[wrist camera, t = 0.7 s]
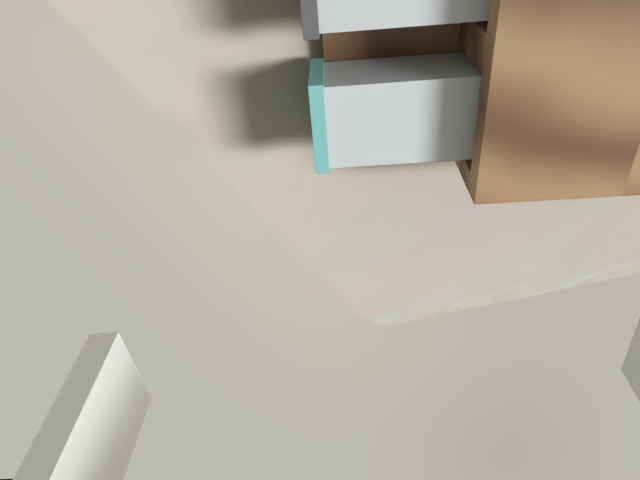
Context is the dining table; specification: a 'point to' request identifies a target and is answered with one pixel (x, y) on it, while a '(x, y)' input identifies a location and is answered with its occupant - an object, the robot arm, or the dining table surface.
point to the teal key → (393, 110)
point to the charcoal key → (385, 14)
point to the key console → (538, 94)
